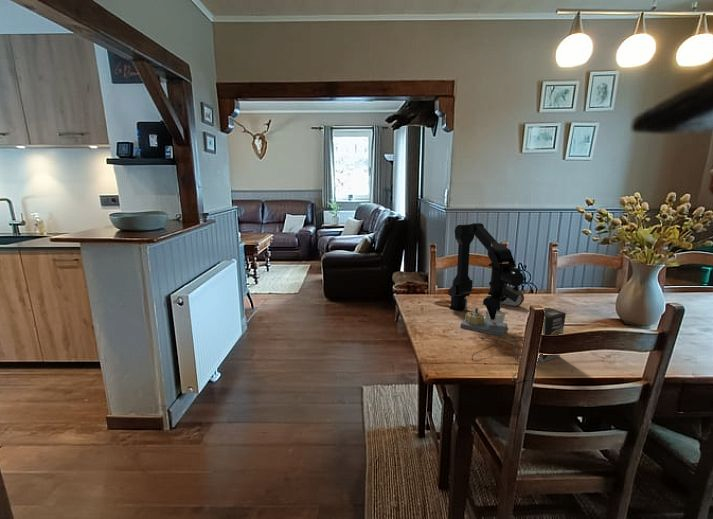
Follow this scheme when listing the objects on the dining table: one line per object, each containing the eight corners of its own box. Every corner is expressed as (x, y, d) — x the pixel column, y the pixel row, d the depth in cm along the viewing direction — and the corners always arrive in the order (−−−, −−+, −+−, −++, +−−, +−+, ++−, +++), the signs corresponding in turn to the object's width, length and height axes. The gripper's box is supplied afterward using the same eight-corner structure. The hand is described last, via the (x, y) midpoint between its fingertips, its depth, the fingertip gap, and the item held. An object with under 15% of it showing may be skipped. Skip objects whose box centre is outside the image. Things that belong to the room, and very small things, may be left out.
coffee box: (543, 362, 124) (549, 317, 120) (526, 354, 129) (531, 311, 126) (560, 356, 128) (566, 312, 124) (544, 349, 133) (549, 306, 130)
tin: (523, 306, 177) (525, 289, 175) (522, 308, 174) (524, 291, 172) (490, 300, 185) (492, 284, 183) (489, 302, 182) (490, 286, 180)
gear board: (460, 327, 152) (461, 312, 151) (468, 318, 161) (469, 304, 160) (501, 336, 144) (502, 320, 142) (506, 326, 153) (508, 312, 151)
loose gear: (501, 324, 145) (502, 317, 144) (483, 320, 149) (484, 313, 148) (505, 318, 151) (506, 311, 150) (488, 315, 154) (488, 308, 154)
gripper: (515, 289, 134) (511, 329, 137) (524, 277, 149) (520, 313, 153) (484, 284, 140) (480, 322, 143) (495, 273, 155) (492, 308, 159)
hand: (494, 316), depth 149 cm, fingers closed on loose gear, 7 cm apart
